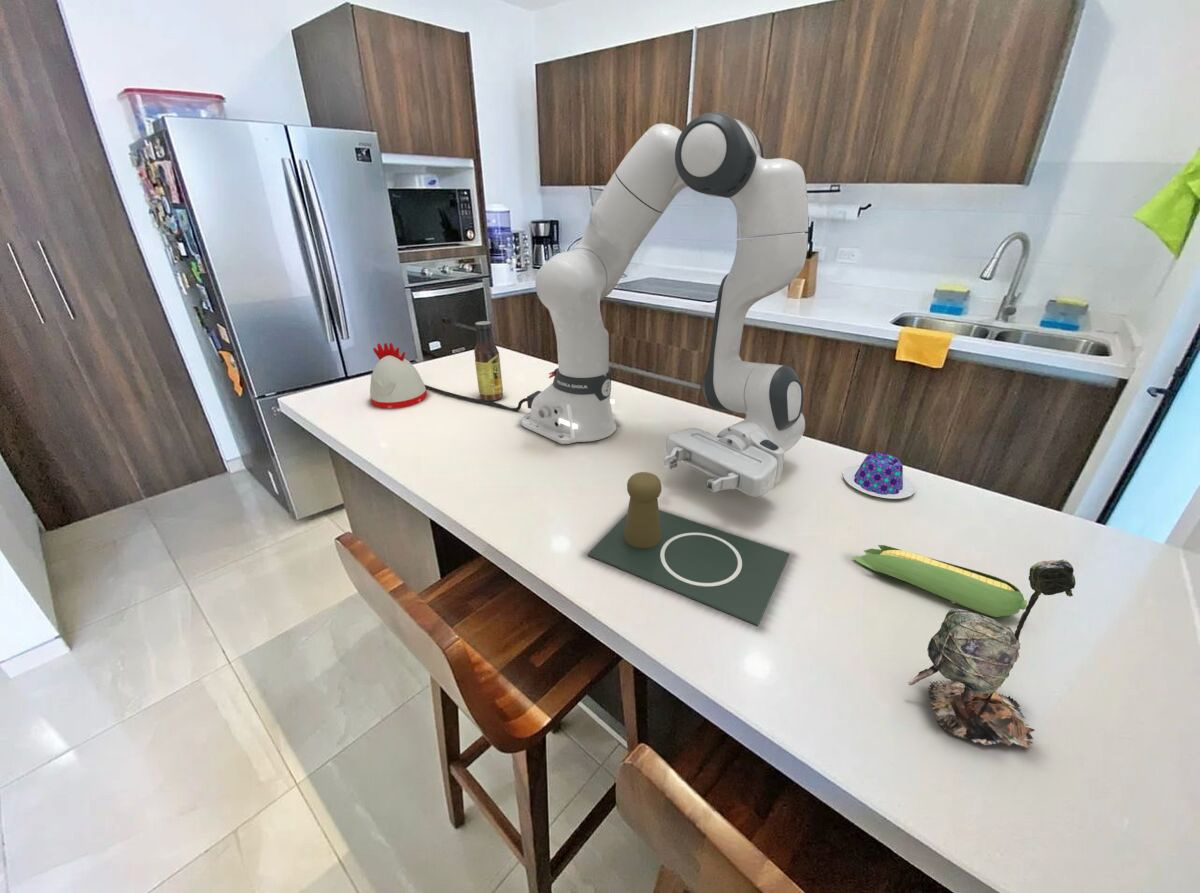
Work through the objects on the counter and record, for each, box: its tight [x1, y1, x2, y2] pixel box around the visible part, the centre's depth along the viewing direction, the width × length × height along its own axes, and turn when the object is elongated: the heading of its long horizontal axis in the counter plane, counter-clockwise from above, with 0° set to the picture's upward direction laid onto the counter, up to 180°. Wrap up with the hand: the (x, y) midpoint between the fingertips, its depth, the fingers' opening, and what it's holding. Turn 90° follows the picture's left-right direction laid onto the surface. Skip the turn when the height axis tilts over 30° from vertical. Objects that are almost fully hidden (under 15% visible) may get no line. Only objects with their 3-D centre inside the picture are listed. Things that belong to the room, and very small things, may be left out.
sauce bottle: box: [473, 320, 504, 402], centre depth 128 cm, size 7×6×20 cm
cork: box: [624, 471, 663, 548], centre depth 77 cm, size 6×6×11 cm
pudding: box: [842, 452, 916, 500], centre depth 91 cm, size 12×12×5 cm
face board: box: [587, 509, 790, 627], centre depth 75 cm, size 26×16×1 cm, turn 58°
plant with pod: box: [907, 559, 1077, 749], centre depth 48 cm, size 8×11×20 cm
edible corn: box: [851, 544, 1028, 618], centre depth 68 cm, size 5×20×4 cm, turn 54°
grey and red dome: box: [369, 342, 428, 409], centre depth 129 cm, size 14×14×15 cm
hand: (687, 474), depth 81 cm, fingers open, 8 cm apart
